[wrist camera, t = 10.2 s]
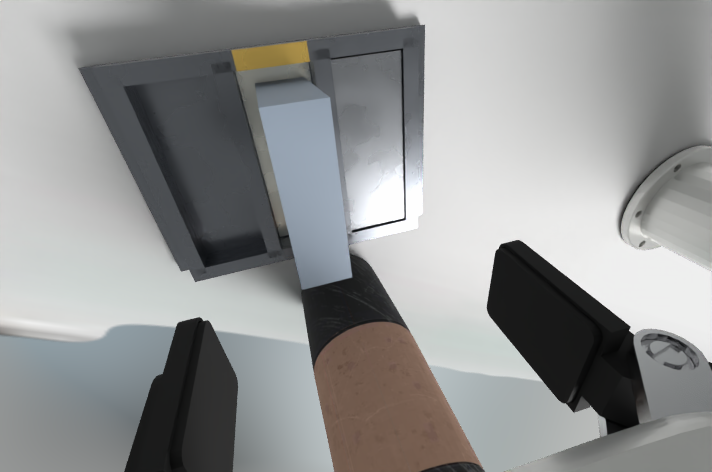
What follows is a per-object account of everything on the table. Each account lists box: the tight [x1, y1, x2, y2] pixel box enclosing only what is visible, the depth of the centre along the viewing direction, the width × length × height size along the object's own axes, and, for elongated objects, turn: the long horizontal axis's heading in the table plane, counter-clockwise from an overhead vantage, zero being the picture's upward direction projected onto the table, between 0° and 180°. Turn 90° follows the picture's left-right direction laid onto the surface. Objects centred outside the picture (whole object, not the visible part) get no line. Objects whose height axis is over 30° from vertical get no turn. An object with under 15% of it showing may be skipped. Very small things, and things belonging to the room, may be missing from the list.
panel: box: [255, 77, 352, 290], centre depth 20 cm, size 3×10×8 cm, turn 5°
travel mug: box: [302, 255, 485, 472], centre depth 23 cm, size 8×8×20 cm
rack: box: [79, 25, 425, 282], centre depth 22 cm, size 20×14×3 cm
